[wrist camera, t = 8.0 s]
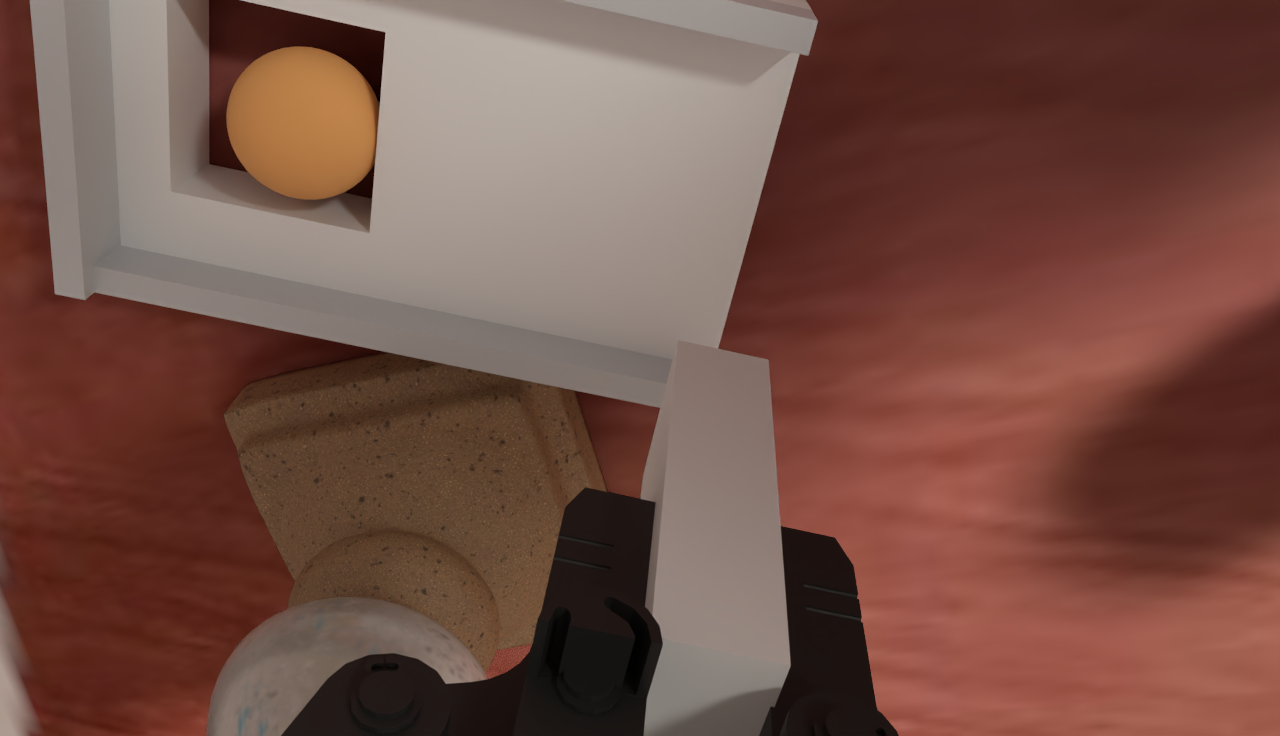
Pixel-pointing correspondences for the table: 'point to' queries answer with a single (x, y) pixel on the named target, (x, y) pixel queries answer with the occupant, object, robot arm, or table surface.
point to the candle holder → (398, 521)
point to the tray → (438, 179)
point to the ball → (304, 122)
